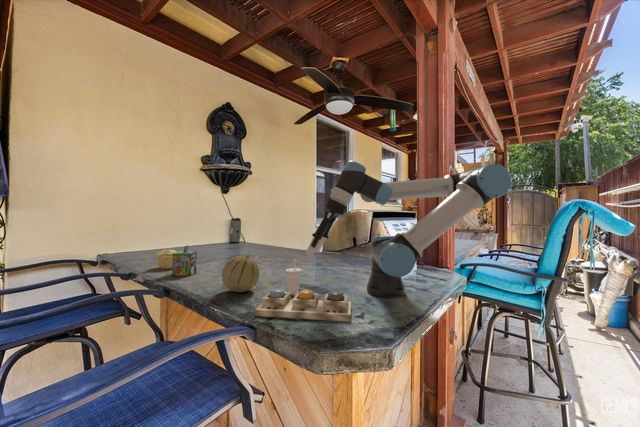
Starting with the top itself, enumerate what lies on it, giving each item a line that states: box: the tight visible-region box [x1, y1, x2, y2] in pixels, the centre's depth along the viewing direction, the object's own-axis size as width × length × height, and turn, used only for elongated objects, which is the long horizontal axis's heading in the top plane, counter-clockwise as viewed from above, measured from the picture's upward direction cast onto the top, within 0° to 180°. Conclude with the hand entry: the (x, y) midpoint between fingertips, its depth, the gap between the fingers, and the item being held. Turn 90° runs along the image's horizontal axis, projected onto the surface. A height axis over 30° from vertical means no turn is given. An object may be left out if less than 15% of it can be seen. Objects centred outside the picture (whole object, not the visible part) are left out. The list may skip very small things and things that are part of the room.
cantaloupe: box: [221, 254, 260, 293], centre depth 111 cm, size 15×15×15 cm
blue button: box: [269, 288, 285, 298], centre depth 92 cm, size 5×5×2 cm
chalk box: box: [171, 245, 198, 277], centre depth 139 cm, size 9×9×15 cm
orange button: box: [298, 289, 314, 300], centre depth 90 cm, size 5×5×2 cm
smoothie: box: [285, 258, 302, 296], centre depth 108 cm, size 6×6×14 cm
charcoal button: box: [327, 290, 344, 301], centre depth 89 cm, size 5×5×2 cm
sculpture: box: [155, 249, 178, 270], centre depth 154 cm, size 12×12×11 cm
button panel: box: [254, 291, 352, 322], centre depth 89 cm, size 30×12×4 cm, turn 83°
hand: (312, 253), depth 99 cm, fingers open, 13 cm apart
